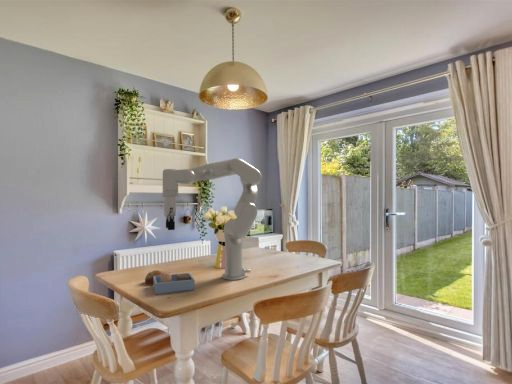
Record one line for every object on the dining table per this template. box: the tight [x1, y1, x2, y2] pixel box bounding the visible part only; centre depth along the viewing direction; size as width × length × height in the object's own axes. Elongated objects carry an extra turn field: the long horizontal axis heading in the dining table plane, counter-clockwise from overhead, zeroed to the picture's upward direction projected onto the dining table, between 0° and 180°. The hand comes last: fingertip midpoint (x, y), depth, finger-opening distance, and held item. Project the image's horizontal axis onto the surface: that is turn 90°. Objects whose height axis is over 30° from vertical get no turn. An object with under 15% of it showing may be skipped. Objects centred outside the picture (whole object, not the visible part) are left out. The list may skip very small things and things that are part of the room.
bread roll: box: [144, 269, 163, 286], centre depth 156 cm, size 10×10×8 cm
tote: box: [152, 272, 196, 296], centre depth 146 cm, size 18×14×5 cm
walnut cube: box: [177, 273, 189, 281], centre depth 148 cm, size 5×5×5 cm
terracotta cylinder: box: [161, 271, 173, 283], centre depth 145 cm, size 5×5×7 cm
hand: (170, 228), depth 151 cm, fingers open, 8 cm apart
